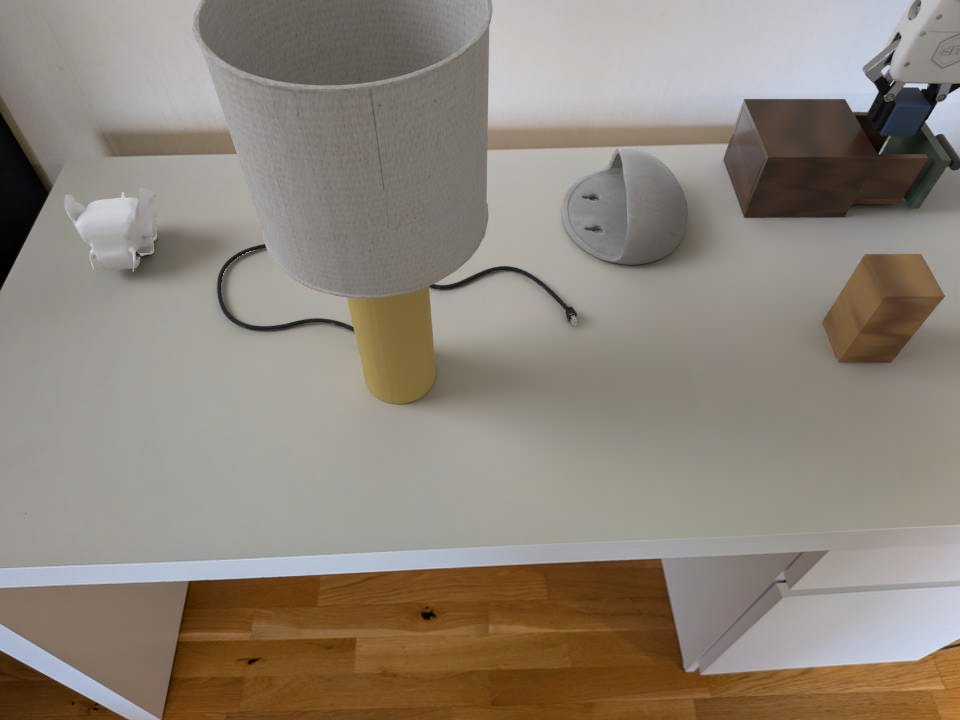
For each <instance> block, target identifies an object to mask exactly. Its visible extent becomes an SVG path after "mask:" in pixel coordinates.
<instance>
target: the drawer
mask: <svg viewBox="0 0 960 720" xmlns="http://www.w3.org/2000/svg"><path fill="white" fill-rule="evenodd" d="M852 112H853V114H854V115H855V117H856V119H857V120H858V122H859V124H860V126H861V127H862V129H863V131H864V132H865V134H866V136H867V138H868V139H869V141H870V143H871V144H872V146H873V148H874V150H875V151H876V153H877V155H878V156H879V158H878V160H877V161H876V162H875V165H874V166H873V168H872V170H871V172H870V174H869V175H868V177H867V179H866V181H865V182H864V184H863V186H862V188H861V190H860V191H859V193H858V195H857V197H856V198H855V200H854V202H853V204H852V205H856V204H857V205H871V204H872V205H878V204H881V205H886V204H887V205H890V204H891V205H892V204H895V205H898V204H901V202H902V200H903V199H904V201H905V203H906V204H907V206H908V207H909V209H910V210H919V209H920V208H921V206H922V205H923V203H924V202H925V200H926V199H927V198H928V196H929V195H930V193H931V191H932V190H933V188H934V187H935V186H936V184H937V182H938V181H939V179H941V177H942V175H943V173H945V171H946V169H947V168H949V170H950V171H953V172H954V171H958V170H960V156H959V154H958V153H957V152H956V150H955V148H954V147H953V146H952V144H951V143H950V141H949V140H948V138H947V137H946V136H945V134H943V133H939V134H936V135H935V134H934V132H933V131H932V130H931V128H930V127H929V125H928V123H927V121H925V123H924V125H923V126H922V128H921V129H920V130H919V131H917V132H916V133H915V135H914V136H881V135H880V133H879V131H878V130H874V128H873V127H872V125H871V123H870V122H869V120H868V111H852ZM888 138H889V139H888ZM885 143H886V144H885ZM884 145H885V146H884ZM881 150H882V151H881ZM880 152H881V153H880Z"/></svg>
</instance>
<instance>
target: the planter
mask: <svg viewBox="0 0 960 720" xmlns="http://www.w3.org/2000/svg"><path fill="white" fill-rule="evenodd" d="M591 198H596V199H598V200H592V199H591ZM561 219H562V224H563V227H564V230H565V231H566V233H567V235H568V236H569V238H570V239H571V240H572V241H573V242H574V243H575V244H576V246H578V247H579V248H581V249H582V250H583V251H584V252H586V253H587V254H589V255H591V256H593V257H595V258H596V259H598V260H602V261H605V262H609V263H612V264H618V265H626V266H631V265H633V266H634V265H636V266H637V265H645V264H649V263H653V262H656V261H659V260H661V259H664V258H665V257H667V256H669V255H670V254H671V253H673V252H674V251H675V250H676V249H677V248H678V247H679V245H680V244H681V242H682V241H683V239H684V236H685V235H686V231H687V229H688V224H689V207H688V201H687V198H686V196H685V192H684V190H683V188H682V185H681V184H680V182H679V181H678V179H677V177H676V176H675V174H674V173H673V172H672V170H671V169H670V168H669V166H667V164H665V163H664V162H663V161H662V160H661V159H660V158H658V157H657V156H655V155H653V154H652V153H650V152H648V151H646V150H644V149H640V148H636V147H629V146H622V147H617V148H616V149H615V150H614V151H613V153H612V156H611V159H610V161H609V164H608V165H606V167H604V168H602V169H600V170H597V171H594V172H592V173H589V174H586V175H584V176H582V177H580V178H579V179H578V180H576V182H574V183H573V184H572V185H571V186H569V188H568V190H567V191H566V193H565V195H564V198H563V201H562V208H561ZM593 230H600V231H601V232H595V231H593Z"/></svg>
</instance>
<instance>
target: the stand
mask: <svg viewBox="0 0 960 720" xmlns="http://www.w3.org/2000/svg"><path fill="white" fill-rule="evenodd" d="M945 297H946V295H945V292H943V290H942V288H941V286H940V285H939V283H938V281H937V279H936V277H935V275H934V274H933V272H932V270H931V269H930V267H929V265H928V263H927V262H926V260H925V258H924V256H923V254H922V253H865V254H863V256H862V257H861V259H860V261H859V263H858V264H857V265H856V267H855V269H854V271H853V272H852V273H851V275H850V277H849V278H848V280H847V281H846V283H845V285H844V286H843V288H842V289H841V291H840V293H839V294H838V296H837V298H835V300H834V302H833V303H832V305H831V307H830V308H829V310H828V312H827V313H826V315H825V316H824V318H823V319H822V321H821V322H822V325H823V327H824V330H825V333H826V334H827V338H828V340H829V343H830V345H831V347H832V350H833V352H834V355H835V357H836V360H837V362H838V363H892V362H893V361H894V360H895V359H896V357H897V356H898V355H899V354H900V352H901V351H902V350H903V349H904V347H905V346H906V345H907V344H908V342H909V341H910V340H911V339H912V338H913V336H914V335H915V334H916V333H917V332H918V330H919V329H920V328H921V327H922V325H923V324H924V323H925V322H926V320H927V319H928V318H929V317H930V315H931V314H932V313H933V312H934V311H935V309H936V308H937V307H938V306H939V305H940V303H941V302H942V301H943V300H944V298H945Z"/></svg>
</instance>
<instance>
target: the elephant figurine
mask: <svg viewBox="0 0 960 720" xmlns="http://www.w3.org/2000/svg"><path fill="white" fill-rule="evenodd" d="M138 194H139V195H138V198H136V197H130V196H129V197H127V196H126V192H125V191H122V192H121V197H114V198H105V199H97V200H93V201H92V202H90V203H89V204H87V206H86V207H85V206H84V205H83V204H82V203H80V202H77V201H76V199H75V197H74V196H73V195H72V194H69V193H68V194H65V196H64V199H63V206H64V209H65V212H66V214H67V215H68V218H69V219H70V220H71V222H72V224H73V225H74V228H75V229H76V231H77V233H78V235H79V236H80V237H81V239H82V241H83V242H84V243H85V244H87V245H88V246H90V248H91V250H90V251H89V254H88V256H89V262H90V264H91V267H92V269H93V271H94V273H95V275H96V276H97V275H98V271H97V268H96V264H95V259H97V262H98V265H99V266H100V267H101V268H102V269H104V270H106V271H115V270H124V269H125V270H126V269H130V270H131V269H132V273H133V272H135V269H137V268H138V267H139V265H140V262H141V256H137V253H136V252H139V253H150V252H151V251H153V249H154V246H155V241H153V237H155V235H156V234H157V231H158V227H157V223H156V222H157V219H158V208H157V205H156V201H155V199H156V197H157V194H156V193H154V192H152V191H151V190H150V189H148V188H144V187H140V189H139V191H138Z"/></svg>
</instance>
